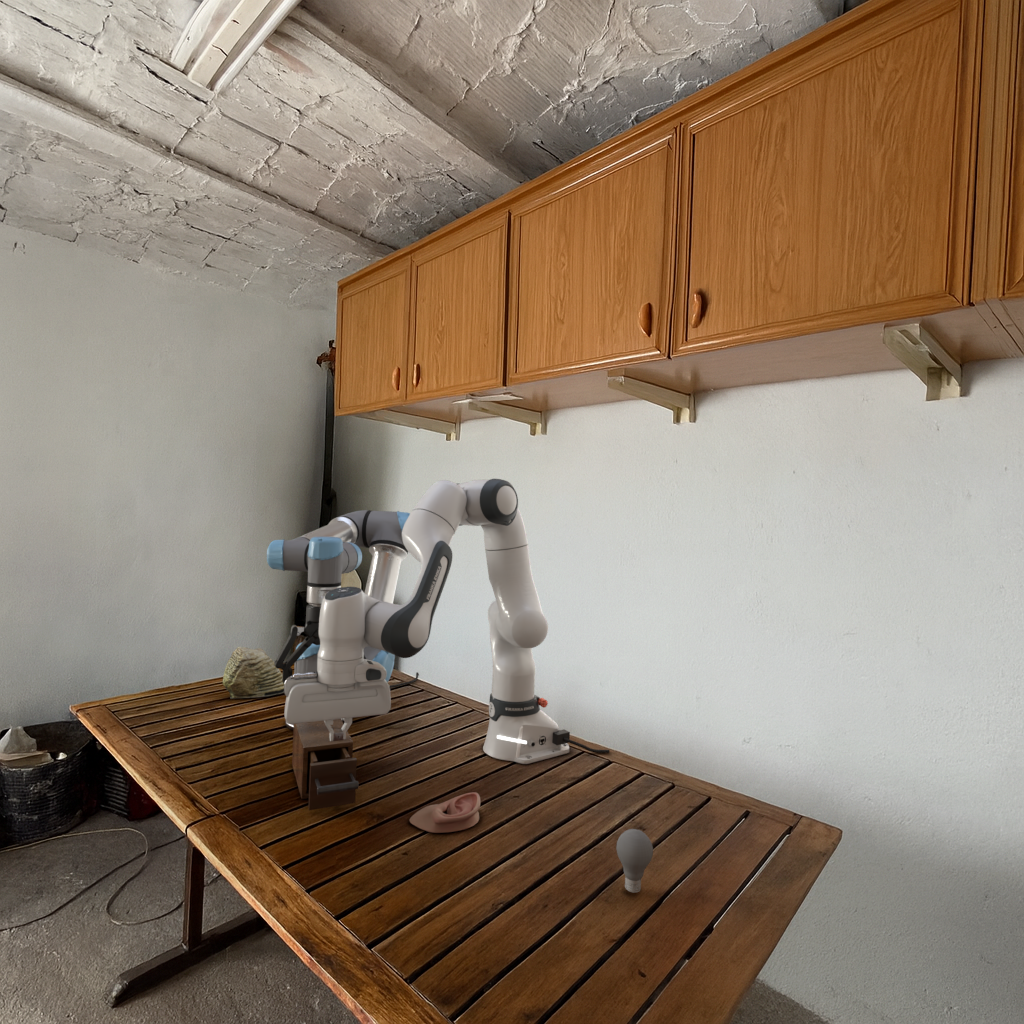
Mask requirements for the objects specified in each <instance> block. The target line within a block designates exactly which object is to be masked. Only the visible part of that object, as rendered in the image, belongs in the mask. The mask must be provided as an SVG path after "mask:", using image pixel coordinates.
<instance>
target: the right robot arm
mask: <svg viewBox="0 0 1024 1024" xmlns="http://www.w3.org/2000/svg"><path fill="white" fill-rule="evenodd" d="M409 513H410V515H409V517H408V518H407V520H406V522H405V524H404V527H403V530H402V540H403V543H404V546H405V548H406V549H407V550H408V554H410V555H411V556H412V557H413V558H414V559H416V560H417V561H418V562H419V563H420V571H419V573H418V576H417V579H416V581H415V584H414V585H413V586H414V587H413V589H412V591H411V594H410V596H409V598H408V600H407V601H405V602H404V603H402V604H397V603H393V604H392V603H388V602H384V601H380V600H377V599H375V598H372V597H370V596H368V595H367V594H365V591H363V589H362V588H360V587H358V586H341V587H340V588H336V589H333V590H331V591H329V592H328V593H326V594H325V596H324V598H323V601H322V604H321V609H320V617H319V638H320V649H319V651H318V659H317V672H309V673H303V674H300V673H296V674H294V673H293V675H292V676H290V677H289V678H287V679H286V681H285V683H284V692H283V694H284V696H286V697H285V703H284V713H283V715H284V719H285V722H286V721H287V722H288V723H289V724H295V723H304V722H314V721H324V723H325V725H326V727H327V728H328V730H329V732H330V734H329V738H330V742H332V741H340V740H346V732H347V731H348V730H349V729H350V727H351V726H352V724H353V718H361V717H362V718H363V717H370V716H381V715H387V714H389V712H390V711H391V708H392V697H391V695H392V694H391V688H390V687H389V686H390V684H389V682H388V683H387V681H386V680H385V679H386V676H387V672H386V670H385V668H384V667H383V666H382V665H381V664H380V663H378V662H375V661H371V660H367V659H364V651H363V650H364V648H365V647H368V646H370V647H372V648H375V649H379V650H383V651H387V652H389V653H391V654H393V655H395V657H398V658H400V659H401V658H402V659H410V658H412V657H414V656H416V655H417V654H419V653H420V652H421V651H422V650H423V649H424V647H425V646H426V645H427V643H428V641H429V638H430V635H431V630H432V624H433V619H434V617H435V613H436V611H437V608H438V604H439V601H440V598H441V596H442V593H443V591H444V587H445V585H446V582H447V579H448V576H449V573H450V570H451V567H452V563H453V550H452V547H451V543H452V541H453V538H454V536H455V535H456V533H457V530H458V529H459V527H460V526H467V527H469V526H471V527H479V526H480V527H481V529H482V530H483V539H484V540H483V541H484V543H483V544H484V549H485V550H484V551H485V558H486V566H487V572H488V581H489V583H490V585H491V588H492V591H493V594H494V598H495V599H494V600H493V601H492V602H491V603H490V604H489V606H488V609H487V620H488V625H489V639H490V649H491V659H492V677H491V692H490V694H489V702H488V716H489V720H488V725H487V731H486V736H485V740H484V744H483V746H482V751H483V752H484V753H485V754H486V755H488V756H489V757H492V758H493V759H497V760H500V761H501V760H502V761H508V762H509V761H510V762H514V763H518V764H522V765H529V764H532V763H536V762H540V761H543V760H548V759H551V758H555V757H558V756H562V755H566V754H569V753H570V745H569V744H572V745H574V746H577V747H579V748H582V749H584V750H586V751H587V752H591V753H595V754H610V751H611V750H610V749H596V748H591V747H589V746H587V745H585V744H583V743H580V742H577V741H574V740H572V739H570V737H571V732H570V731H569V730H567V729H563V728H562V729H560V727H559V725H558V723H557V722H556V721H555V719H553V718H552V717H550V716H549V715H548V714H547V713H546V712H545V711H543V710H542V709H541V708H547V706H548V704H549V702H548V700H547V699H546V698H544V697H539V696H538V695H536V694H535V687H536V662H535V659H534V654H533V649H534V648H537V647H538V646H540V645H541V644H542V643H543V642H544V641H545V639H546V638H547V636H548V632H549V624H548V620H547V618H546V616H545V614H544V611H543V608H542V604H541V599H540V597H539V593H538V589H537V587H536V583H535V580H534V576H533V571H532V563H531V556H530V548H529V541H528V534H527V530H526V526H525V522H524V519H523V515H522V512H521V510H520V509H519V497H518V494H517V491H516V489H515V488H514V486H513V484H512V483H511V482H509V481H508V480H505V479H500V478H490V479H486V478H485V479H473V480H470V481H465V482H460V483H456V482H454V481H451V480H447V479H440V480H437V481H435V482H434V483H432V484H431V485H430V486H429V487H428V488H427V489H426V491H425V492H424V493H423V495H421V497H420V498H419V499H418V500H417V502H416V503H415V505H414V507H413V509H412V510H411V512H409ZM291 678H292V679H291ZM334 719H343V724H344V725H343V726H342V728H341V729H337V730H333V729H332V727H331V725H333V720H334Z"/></svg>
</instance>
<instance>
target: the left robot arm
mask: <svg viewBox="0 0 1024 1024" xmlns="http://www.w3.org/2000/svg"><path fill="white" fill-rule="evenodd" d="M410 513H411V512H405V511H399V510H397V511H392V510H391V511H390V510H389V511H388V510H370V509H363V510H361V509H360V510H355V511H352V512H348V513H344V514H342V515H339V516H337V517H334V518H332V519H331V520H330V521H329V522H328V524H327V525H323V526H321V527H319V528H317V529H314V530H311V531H309V532H307V533H305V534H303V535H301V536H297V537H296V538H293V539H285V538H282V539H274V540H272V541H271V542H270V543H269V545H268V547H267V549H266V562H267V565H268V566H269V568H271V569H272V570H277V571H283V572H285V571H286V572H287V571H288V572H289V571H290V572H307V585H306V587H307V588H306V603H308V604H307V605H306V609H305V610H306V611H305V615H306V616H305V624H304V626H301V625H300V626H299V625H296V624H292V625H291V626H290V632H289V635H288V637H287V639H286V641H285V642H284V645H283V646H282V648H281V650H280V652H279V653H278V655H277V657H276V659H275V660H274V663H275V667H276V668H278V669H279V670H281V671H282V675H283V678H282V681H283V684H284V683H285V681H286V679H287V678H289V677H290V676H293V674H296V673H300V674H303V673H309V672H317V659H318V651H319V649H320V638H319V617H320V609H321V604H322V601H323V598H324V596H325V594H326V593H328V592H329V591H331V590H333V589H336V588H340V587H342V575H344V574H349V573H352V572H354V571H355V570H357V569H358V568H359V567H360V565H361V564H362V561H363V553H362V550H361V548H365V549H368V551H369V553H370V555H371V556H372V557H371V561H370V566H369V571H368V576H367V581H366V584H365V589H364V593H365V594H367V595H368V596H370V597H372V598H375V599H377V600H380V601H384V602H388V603H392V604H394V599H395V595H396V590H397V584H398V580H399V574H400V570H401V569H400V568H401V563H402V561H404V560H406V559H407V558H408V554H409V552H408V550H407V549H406V548H405V546H404V543H403V540H402V530H403V527H404V524H405V522H406V520H407V518H408V517H409V515H410ZM302 633H304V634H305V636H306V637H305V638H304V639H303V640H302V642H299V643H298V644H297V645H296V647H295V650H294V651H293V653H291V654H290V656H289V657H288V658H287V656H288V654H289V652H290V651H291V649H292V647H293V646H294V643H295V642H296V639H297V637H299V636H300V635H301V634H302ZM363 651H364V659H367V660H371V661H375V662H378V663H380V664H381V665H382V666H383V667H384V668H385V670H386V672H387V676H386V679H385V680H386V681H387V683H388V684H389V681H390V680H391V677H392V674H393V671H394V666H395V658H396V655H393V654H391V653H389V652H387V651H383V650H379V649H375V648H372V647H370V646H368V647H365V648H364V650H363ZM286 658H287V659H286ZM293 666H294V670H293V668H292V667H293ZM293 671H294V672H293ZM419 676H420V674H419V672H416V673H415V678H414V679H412V680H409V681H405V682H401V683H396V684H392V685H389V687H390V689H391V688H397V687H401V686H405V685H409V684H413V683H415V682H416V681H418V679H419ZM291 679H293V678H291ZM341 720H342V722H343V723H344V720H343V719H341ZM285 726H286V728H287V729H289V730H291V731H294V724H289V723H288V722H287V721H286V720H285Z"/></svg>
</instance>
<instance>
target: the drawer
mask: <svg viewBox="0 0 1024 1024" xmlns="http://www.w3.org/2000/svg"><path fill="white" fill-rule="evenodd" d="M357 763H358V760H357V758H356V757H352V758H350V756H349V754H348V752H347V750H346V748H345V747H341V748H333V749H325V750H317V751H309V752H308V767H307V787H308V790H309V798H308V806H307V807H308V810H309V811H313V810H320V809H326V808H332V807H339V806H344V805H345V806H346V805H350V804H351V805H352V804H355V803H356V790H359V787H360V786H359V780H357Z"/></svg>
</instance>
